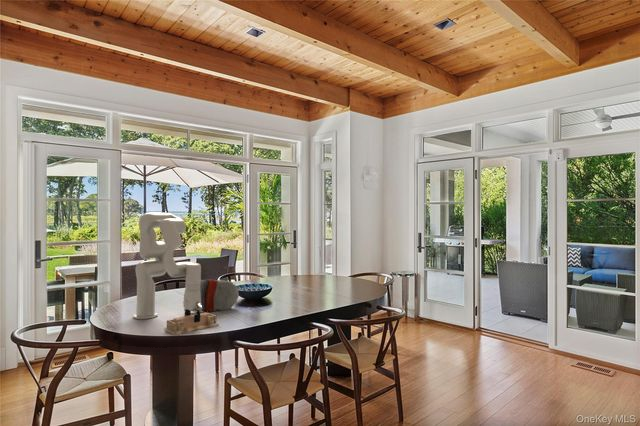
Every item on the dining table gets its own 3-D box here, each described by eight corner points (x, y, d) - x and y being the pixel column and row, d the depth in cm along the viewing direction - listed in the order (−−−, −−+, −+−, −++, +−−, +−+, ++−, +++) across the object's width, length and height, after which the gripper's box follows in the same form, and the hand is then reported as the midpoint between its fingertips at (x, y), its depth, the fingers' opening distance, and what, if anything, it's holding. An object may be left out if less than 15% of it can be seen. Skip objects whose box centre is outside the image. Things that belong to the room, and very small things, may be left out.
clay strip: (177, 329, 196) (177, 319, 196) (173, 328, 199) (173, 318, 199) (209, 323, 210) (209, 313, 210) (205, 321, 212) (205, 312, 212)
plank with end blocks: (175, 334, 191) (176, 324, 191) (164, 329, 200) (164, 319, 200) (218, 325, 209) (218, 316, 209) (206, 321, 217) (206, 312, 217)
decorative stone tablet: (194, 280, 230) (241, 280, 248) (190, 278, 235) (236, 279, 253) (190, 313, 229) (237, 311, 246) (186, 311, 234) (233, 309, 252)
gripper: (178, 285, 208) (177, 318, 207) (195, 290, 196) (194, 325, 196) (191, 284, 213) (190, 315, 213) (208, 288, 201) (207, 322, 201)
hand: (192, 320), depth 204 cm, fingers open, 9 cm apart
